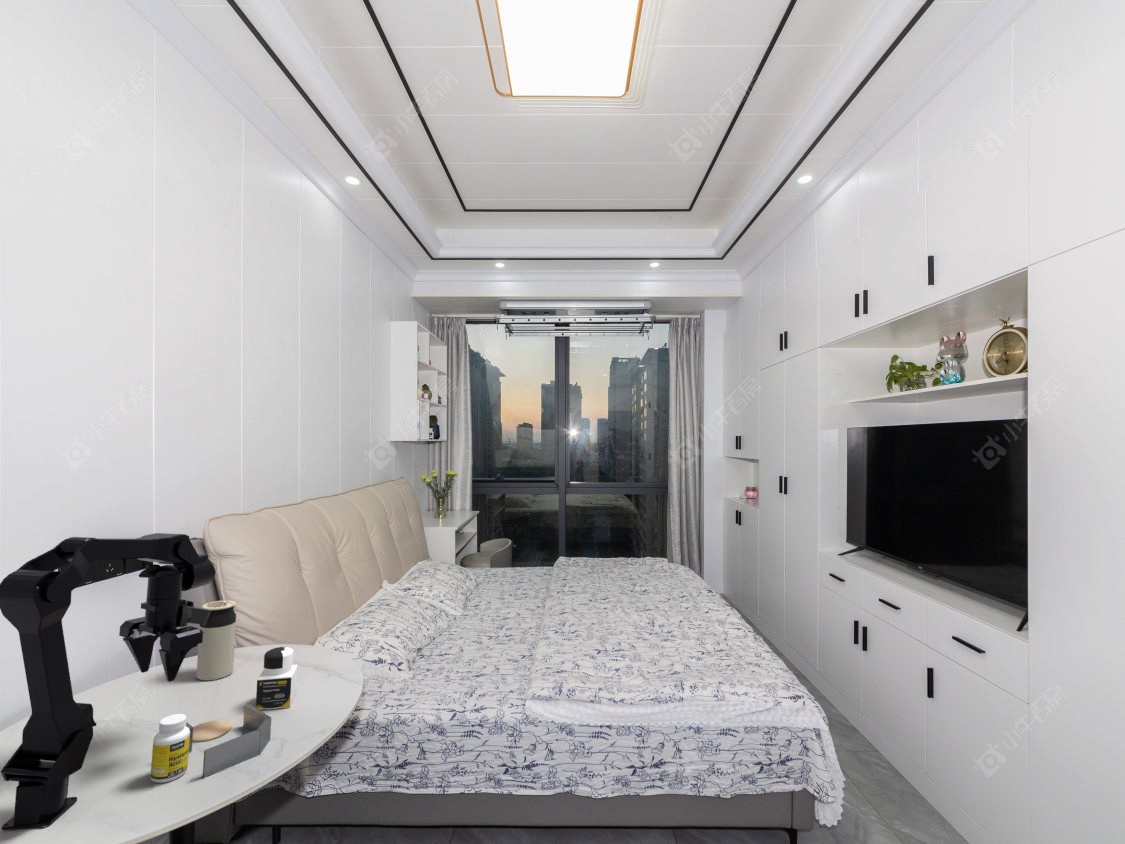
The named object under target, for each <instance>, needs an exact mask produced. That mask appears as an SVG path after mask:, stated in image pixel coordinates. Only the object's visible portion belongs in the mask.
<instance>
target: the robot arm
mask: <svg viewBox="0 0 1125 844" xmlns="http://www.w3.org/2000/svg"><path fill="white" fill-rule="evenodd" d="M133 559H136V560H138V561H144V562H150V564H148V566H147V567H146V568H144V569H143V570H142V571H141V572H140V573H139V574H138V577H139V578H143V579H144V578H146V579H147V587H146V599H145V602H141V603H140V609H142V610H145V613H144V616H141V617H136V618H132V619H128V620H124V622H123V623H122V624H121V625H120V626H119V633H118V636H119V637H122V642H125V644H126V647H127V648H128V650H129V651H130V653H131V655H132V657H133V658H134V660H135V662H136V664H137V667H138V668H139V670H140V672H141V673H147V672H149V669H150V666H151V662H152V656H153V650H154V645H155V643H156V641H157V640H158V639H159V646H160V649H158V653H159V657H160V659H161V664H162V668H163V671H164V674H165V678H166V680H167V682H169V683H171V682H173V681H175V680H176V678H177V675H178V673H179V671H180V668H181V667H182V664H183V662H184V659H185V658H186V656H187V654H188V652H190V651H191V650H192V649H193V648H196V647H198V644H200V643H202V642H203V638H204V632H203V631H202V630H201V629H199V627H195V626H191V625H188V624H193V625H196V624H197V625H199V626H200V625H202V626H205V624H206V621H207V619H208V616H209V614H210V612H211V610H207V609H203V608H202V607H197V606H195V604H194V601H191V600H186V599H184V598H183V599H182V595H183V594H182V593H183V592H186V591H190V590H193V589H196V588H197V589H198V588H200V587H203V586H206V585H209V584H210V583H212V582H213V580H214V579H215V576H216V572H217V571H216V569H215V566H214V564H213V563H212V562H211V560H209V555H208V554H199V553H198V552H197V550H196V548H195V547H194V545H193V543H192V542H191V539H190V535H188V534H185V533H167V532H165V533H163V532H162V533H161V532H159V533H157V532H156V533H151V534H146V535H145V534H144V535H142V536H141V537H136V538H96V537H87V536H86V537H83V536H82V537H81V536H70V537H69V538H66V539H63V540H61V541H60V542H59V543H58V544H56V545H55V546H54V547H53V548H51V549H50V550H47V551H46V552H44V553H42V554H40V555H37V556H36V557H34V558H31V559H30V560H28V561H27V562H25V563H24V564H23V565H21V566H20V567H19V568H17V569H16V570H14V571H13V572H11V573H9V574H8V575H7V576H5V577H4V578H3V579H2V580H1V582H0V613H1V615H2V616H3V617H4V618H5V619H6V620H7V621H8V622H9V623H10V624H11V625H12V626H13V627H14V628H15V629H16V630H17V632H18V636H19V643H20V647H21V653H22V654H21V655H22V661H23V665H24V672H25V678H26V684H27V690H28V696H29V702H30V707H31V714H30V716H29V718H28V720H27V722H26V723H25V725H24V728H23V729H22V736H21V744H20V745H19V746H18V747H17V749H16V750H15V752H14V753H13V754H12V756H11V757H10V758H9V760H8V761H7V762H6V763H5V765H4V766H3V768H2V769H1V771H0V773H1V776H2V778H3V780H4V781H5V782H9V781H11V782H18V784H17V786H16V788H15V800H14V801H15V802H14V813H13V816H12V817H11V818H10V819H8V820H7V821H6V822H5V823H3V824H2V825H1V831H2V830H3V831H5V830H7V831H8V830H17V829H30V828H40V827H47V826H50V825H52V824H53V823H54V822H55V821H56V820H57V819H58V818H59V817H60V816H61V815H63V814H64V813H65V812H66V811H67V810H68V809H70V808H71V807H72V806H73V805H74V804H75V803H77V801H78V797H77V796H68V793H69V780H70V776H71V775H73V774H75V773H77V772H78V771H80V770H82V768H83V765H84V762H85V759H86V756H87V753H88V750H89V747H90V745H91V742H92V740H93V739H94V738H93V737H94V727H96V726H97V724H98V723H96V722H95V719H94V707H93V705H92V703H84V702H76V701H75V698H74V693H73V685H72V680H71V673H70V668H69V660H68V653H67V648H66V647H67V645H66V642H65V634H64V628H63V627H64V626H63V619H64V617H65V615H66V614H67V611H68V609H69V608H70V606H71V603H72V592H73V591H74V590H75V589H76V588H77V587H78V586H80V584H81V583H83V582H84V580H85V579H86V577H87V574H88V572H89V570H90V567H91V565H93V563H94V562H96V561H106V560H133ZM69 562H70V563H69ZM151 562H153V564H152V563H151ZM154 563H158V564H154ZM67 564H69V565H67ZM66 565H67V567H65V568H64V569H63V570H62V571H57V570H58V569H60V568H62V567H64V566H66Z"/></svg>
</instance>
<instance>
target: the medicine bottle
mask: <svg viewBox="0 0 1125 844" xmlns="http://www.w3.org/2000/svg"><path fill="white" fill-rule="evenodd" d="M297 683H298V664H294V649H293V648H291V647H288V646H278V647H274V648H271V649H270V650H268V651H266V652H265V653H264V655H263V670H262V671H261V673H260V674H259V676H258V677H257V679H256V693H255V708H256V709H258V710H260V711H267V710H278V709H287V708H290V707H291V705H292V703H293V702H294V699H295V697H296V695H297Z"/></svg>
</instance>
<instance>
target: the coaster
mask: <svg viewBox="0 0 1125 844" xmlns="http://www.w3.org/2000/svg"><path fill="white" fill-rule="evenodd" d="M192 727H193V742H192V743H202V742H208V741H209V742H210V741H212V740H215V739H218V738H221V737H223V736H225V735H227V734H228V733H229V732H230V731H231V730H232V728H233V722H231V721H230V720H226V719H217V720H209V721H206V722H201V723H198V724H197V725H194V726H192Z"/></svg>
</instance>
